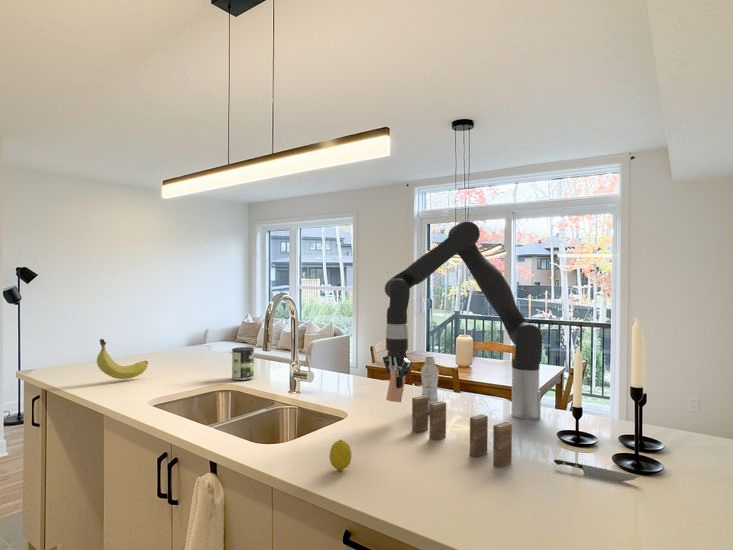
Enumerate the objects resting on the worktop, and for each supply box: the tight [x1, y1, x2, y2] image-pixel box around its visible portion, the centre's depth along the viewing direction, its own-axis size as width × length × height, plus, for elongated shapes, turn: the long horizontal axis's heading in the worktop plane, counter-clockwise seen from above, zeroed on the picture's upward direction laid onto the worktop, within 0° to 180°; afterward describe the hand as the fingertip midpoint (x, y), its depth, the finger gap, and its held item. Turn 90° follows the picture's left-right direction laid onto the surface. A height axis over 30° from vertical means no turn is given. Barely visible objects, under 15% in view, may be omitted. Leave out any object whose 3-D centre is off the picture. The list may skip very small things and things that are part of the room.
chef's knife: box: [553, 459, 641, 482], centre depth 111 cm, size 19×1×3 cm, turn 59°
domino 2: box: [411, 395, 429, 434], centre depth 144 cm, size 2×5×11 cm, turn 126°
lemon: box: [329, 439, 352, 472], centre depth 114 cm, size 6×6×8 cm
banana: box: [96, 338, 149, 380], centre depth 214 cm, size 23×6×20 cm, turn 140°
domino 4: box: [469, 413, 489, 459], centre depth 125 cm, size 2×5×11 cm, turn 126°
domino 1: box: [385, 368, 407, 403], centre depth 154 cm, size 2×5×11 cm, turn 125°
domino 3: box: [428, 400, 447, 442], centre depth 138 cm, size 2×5×11 cm, turn 125°
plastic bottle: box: [420, 356, 440, 414], centre depth 165 cm, size 6×7×20 cm
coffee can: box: [231, 346, 255, 381], centre depth 219 cm, size 10×10×14 cm
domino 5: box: [492, 421, 513, 469], centre depth 118 cm, size 2×5×11 cm, turn 125°
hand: (396, 386), depth 154 cm, fingers closed on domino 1
